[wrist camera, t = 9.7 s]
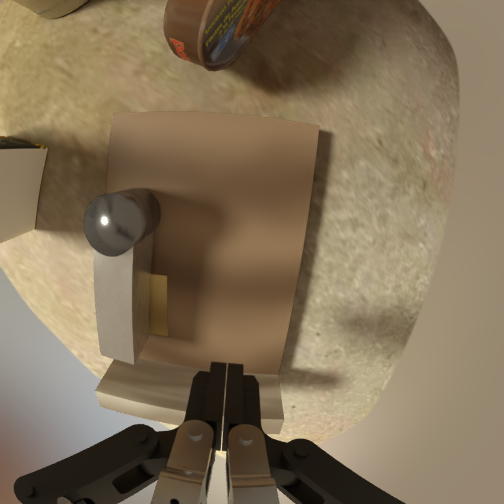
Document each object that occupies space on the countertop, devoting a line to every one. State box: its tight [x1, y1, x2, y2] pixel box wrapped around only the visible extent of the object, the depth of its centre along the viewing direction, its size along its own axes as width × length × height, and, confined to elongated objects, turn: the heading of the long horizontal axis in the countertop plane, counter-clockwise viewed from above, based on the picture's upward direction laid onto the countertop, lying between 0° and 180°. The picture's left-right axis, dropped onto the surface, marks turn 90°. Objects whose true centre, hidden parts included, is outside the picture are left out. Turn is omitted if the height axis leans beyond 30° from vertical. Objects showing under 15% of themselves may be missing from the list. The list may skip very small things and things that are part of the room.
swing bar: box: [84, 188, 161, 365], centre depth 15 cm, size 11×3×4 cm, turn 169°
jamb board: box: [95, 111, 319, 434], centre depth 16 cm, size 20×13×6 cm, turn 174°
